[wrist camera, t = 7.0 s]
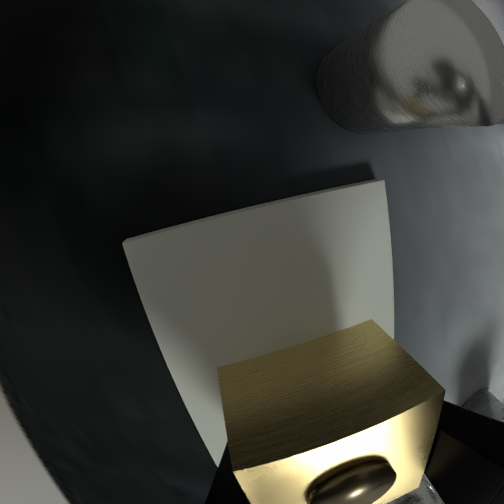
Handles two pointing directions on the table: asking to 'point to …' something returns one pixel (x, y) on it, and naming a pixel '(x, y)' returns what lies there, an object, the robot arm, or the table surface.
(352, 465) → the nut
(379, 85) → the spacers
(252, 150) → the table surface
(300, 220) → the mat
